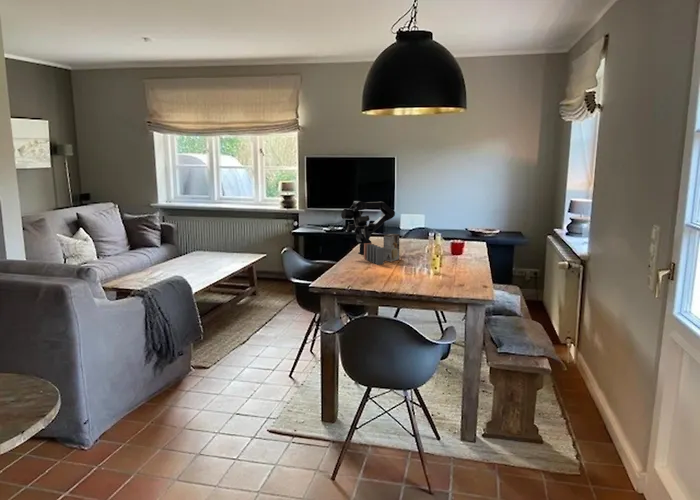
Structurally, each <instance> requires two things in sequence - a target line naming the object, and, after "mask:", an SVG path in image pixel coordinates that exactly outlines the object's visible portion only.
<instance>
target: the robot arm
mask: <svg viewBox="0 0 700 500" xmlns="http://www.w3.org/2000/svg"><path fill="white" fill-rule="evenodd" d="M374 208H376V209H377V208H379V209H380V212H381V213H380V216H379V217H378V218H377V219H376V220H375V221H374V222H371V223H368V225H366V224H367V222H369V221H370V216H369V215H365V216H362V215H363V213H364V212H363V210H367V209H374ZM395 214H396V212H395V210H394V209H393V208H392V207H390V206H389V205H388V204H387V203H386V202H385V201H366V202H365V201H361V200H353V202H352V205H351V206H350V207H349V208H343V210H342V211H341V215H340V216H341V219H343V220H350V221H351V220H352V219H353V224H352V223H350V224H347V226H346V229H345V231H346V233H349V234H350V233H352V232H354V233H353V234H356V235H355V239H356V241H357V243H358V245H359V252H358V254H359V255H364V243H372V240H370V238H371V236H372V234H374V232H375V231H376V230H378V229H379V228H380V227H381V226H382V225H383V224H384V223H385V222H387V221H390V220H392V219H393V218H395Z"/></svg>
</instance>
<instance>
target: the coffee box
mask: <svg viewBox="0 0 700 500" xmlns="http://www.w3.org/2000/svg"><path fill="white" fill-rule="evenodd" d="M383 248H384V262H385V261H386V262H394V261H397V260H400V234H398V233H388V234H383Z"/></svg>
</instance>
